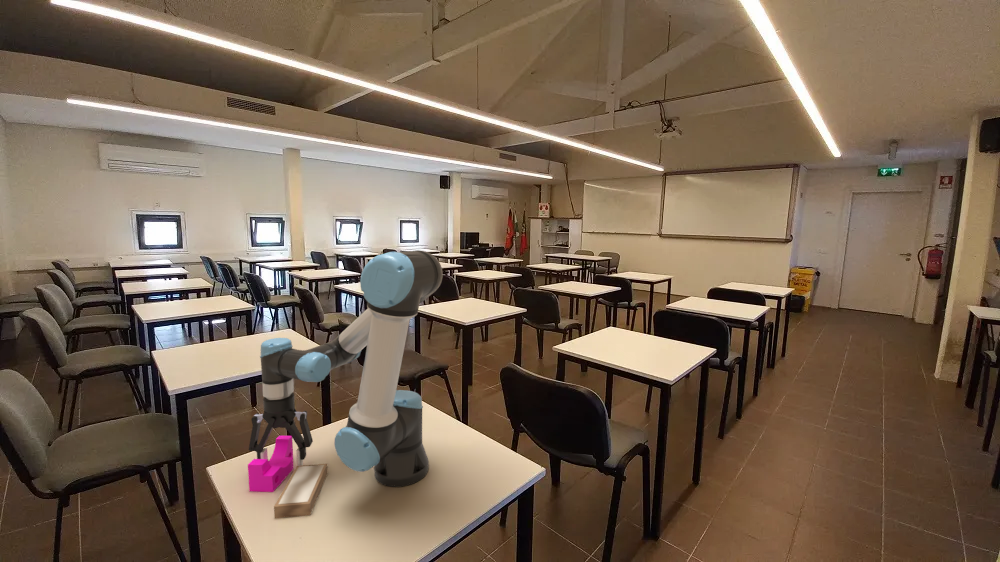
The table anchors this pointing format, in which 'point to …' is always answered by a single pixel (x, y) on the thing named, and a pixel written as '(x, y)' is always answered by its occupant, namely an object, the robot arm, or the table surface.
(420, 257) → the robot arm
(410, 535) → the table surface
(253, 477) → the magenta bracket
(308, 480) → the base slab
